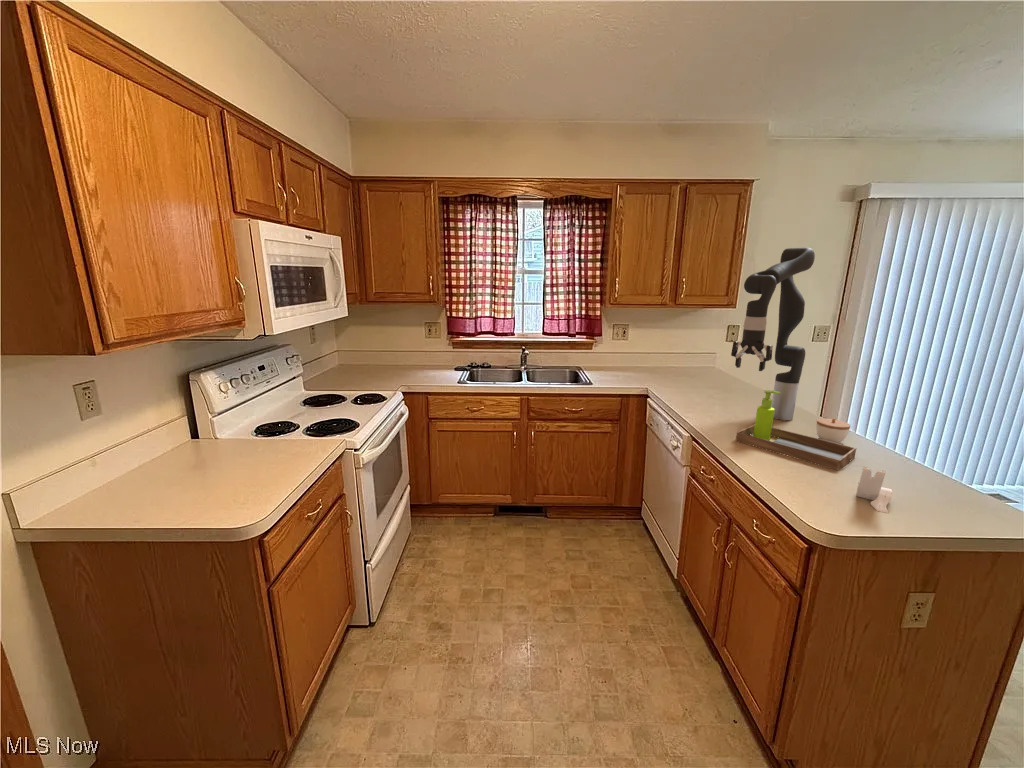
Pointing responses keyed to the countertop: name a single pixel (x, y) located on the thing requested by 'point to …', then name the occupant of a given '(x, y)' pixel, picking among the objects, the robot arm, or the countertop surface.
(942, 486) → the countertop surface
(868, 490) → the plastic part
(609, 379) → the countertop surface
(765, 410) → the soap dispenser
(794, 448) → the wooden tray
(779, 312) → the robot arm
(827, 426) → the lidded jar
